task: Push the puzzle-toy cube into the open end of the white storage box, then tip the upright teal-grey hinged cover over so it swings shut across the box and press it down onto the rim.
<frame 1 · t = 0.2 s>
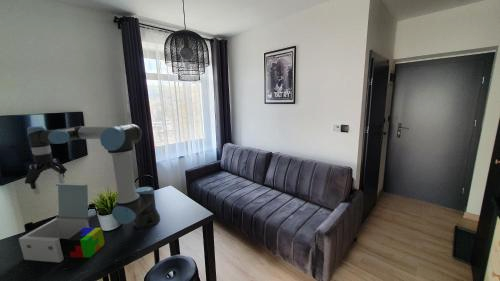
hand: (50, 188, 119), 28 cm above the table, fingers open, 13 cm apart
lid: (72, 201, 115), point 22 cm above the table, hinge at 100.0°
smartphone: (91, 212, 145), on the table
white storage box: (61, 248, 109), on the table
puzzle toy: (88, 250, 108), on the table
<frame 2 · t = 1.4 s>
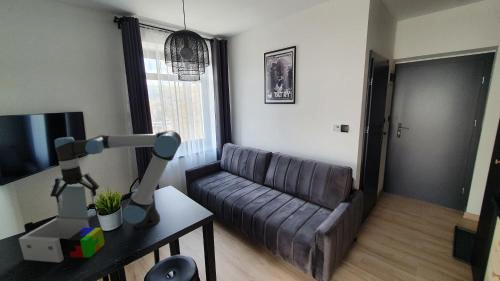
hand: (78, 204, 109), 23 cm above the table, fingers open, 13 cm apart
lid: (70, 202, 114), point 22 cm above the table, hinge at 94.3°
everything else where it was.
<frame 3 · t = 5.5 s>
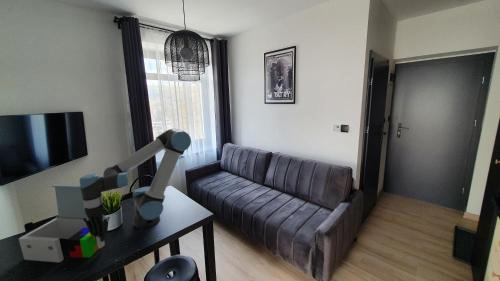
hand: (101, 246, 106), 3 cm above the table, fingers closed
puzzle toy: (88, 250, 108), on the table, touching gripper
everything else where it was.
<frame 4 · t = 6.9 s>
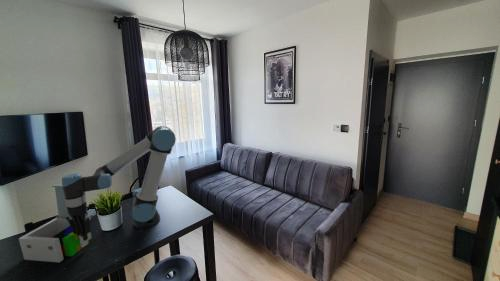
hand: (84, 245, 107), 3 cm above the table, fingers closed
puzzle toy: (72, 249, 109), on the table, touching gripper
everything else where it was.
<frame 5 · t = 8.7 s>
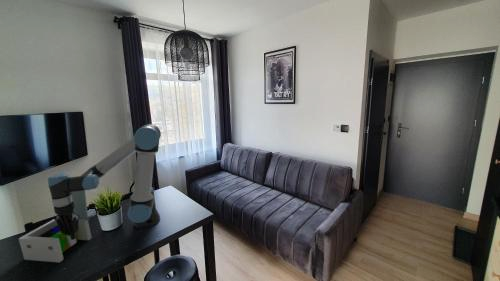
hand: (72, 244, 108), 3 cm above the table, fingers closed
puzzle toy: (60, 248, 110), on the table, touching gripper
everything else where it was.
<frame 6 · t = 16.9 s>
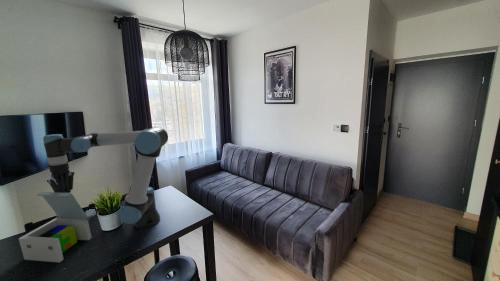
hand: (67, 204, 112), 22 cm above the table, fingers closed
lid: (64, 206, 110), point 21 cm above the table, hinge at 71.2°, touching hand
puzzle toy: (60, 248, 110), on the table
everything else where it was.
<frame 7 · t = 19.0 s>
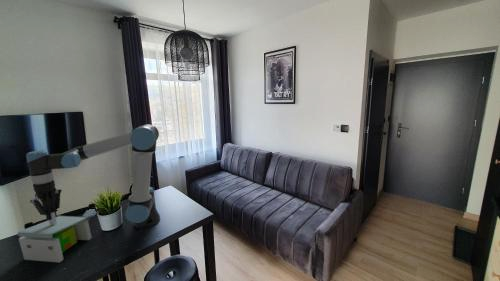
hand: (53, 224, 105), 15 cm above the table, fingers closed
lid: (56, 225, 106), point 14 cm above the table, hinge at 9.9°, touching gripper
everything else where it was.
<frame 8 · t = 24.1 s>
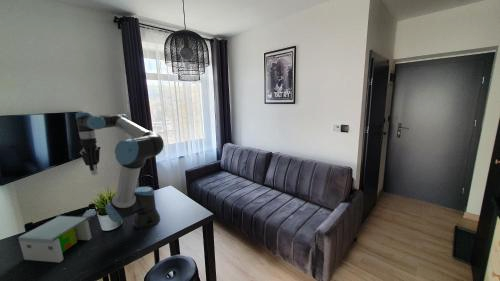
hand: (94, 174, 127), 32 cm above the table, fingers closed
lid: (56, 228, 106), point 12 cm above the table, hinge at 2.1°
everything else where it was.
at the end: puzzle toy inside the target area on the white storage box (1.8 cm from its centre), point 0.0 cm above the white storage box's base; lid at +2° (first picture: +100°) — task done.
